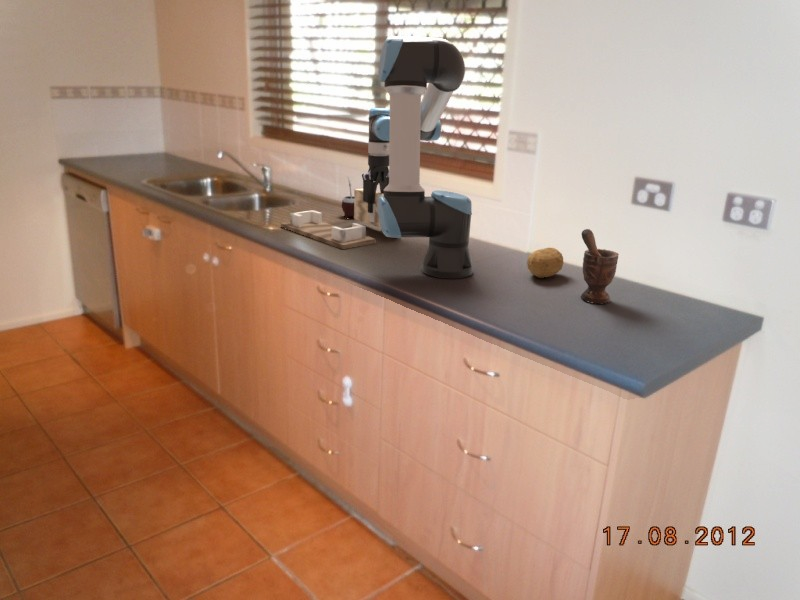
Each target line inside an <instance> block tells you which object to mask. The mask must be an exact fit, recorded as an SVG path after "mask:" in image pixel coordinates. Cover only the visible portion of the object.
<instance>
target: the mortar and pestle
mask: <svg viewBox="0 0 800 600" xmlns="http://www.w3.org/2000/svg"><path fill="white" fill-rule="evenodd" d="M581 239H582V240H583V243H584V244H585V246H586V248H587V249H586V250H585V251H584V253H583V259H582V260H583V262H582V275H583V281H585V283H586V284H587V286H588V287H587V288H586V289H585V290H584V291H583V292H582V293H581V295H580V298H581V299H582V300H583V299H584V300H586V301H589V302H593V303H605V304H608V303H610V301H611V297H610V294H609V293H608V292H607V291H606V288H607V286H609V285H610V284H611V283H612V282H613V279H614V277H615V275H616V272H617V267H618V265H617V264H618V262H619V261H618V259H619V253H618V252H616V251H613V250H609V249H605V248H603V249H602V248H598V247H597V243H596V238H595V234H594V233H593V231H592V230H591V229H589V228H586V229H585V228H584V229H583V230H582V231H581ZM584 300H583V301H584ZM586 301H585V302H586ZM589 302H588V303H589ZM607 302H608V303H607ZM593 303H592V304H593Z"/></svg>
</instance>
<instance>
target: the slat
mask: <svg viewBox="0 0 800 600" xmlns="http://www.w3.org/2000/svg"><path fill="white" fill-rule="evenodd" d="M380 196H384V194H383V193H381V192H380V191H379V192H378V191H376V195H375V200H374V204H376V213H375V222H370V221H369V213H368V203H366V202H364V201H363V188H355V189H354V196H353V197H354V219H353V220H355V221H360V222H361V223H366V224H369V225H371V226H374V227H377V228H380V229H381V226H380V221H379V215H378V198H379V197H380Z"/></svg>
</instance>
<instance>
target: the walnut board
mask: <svg viewBox="0 0 800 600" xmlns="http://www.w3.org/2000/svg"><path fill="white" fill-rule="evenodd" d="M335 226H336V225H334V224H330V223H327V222H324V221H322V224H316V223H313V222H310V223H303V227H297V226H294V225H291V224H290V221H289V222H281V223H280V228H281V227H284V228H286V229H285V230H287V229H288V230H287V231H289V230H291V231H290V232H292V231H293V232H292V233H295V232H296V233H295V234H298V233H299V234H298V235H301V236H303V235H304V237H306V236H307V237H306V238H309V237H310V239H312V238H313V240H315V239H316V240H315V241H318V240H319V241H318V242H320V241H321V243H323V242H324V243H323V244H326V243H327V244H326V245H329V244H330V245H329V246H332V245H333V246H332V247H334V246H335V248H337V247H338V249H340V248H341V250H347V248H348V249H352V247H354V248H358V246H359V247H362V246H368V245H374V244H376V243H377V240H376V239H377V238H374V237H371V236H369V235H368V236H367V235H366V237H365V238H362V239H357V240H351V241H346V242H340V241H337V240H334V239H332V227H335ZM336 227H339V228H342V229H344V228H343V227H340V226H336ZM284 228H283V229H284Z"/></svg>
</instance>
